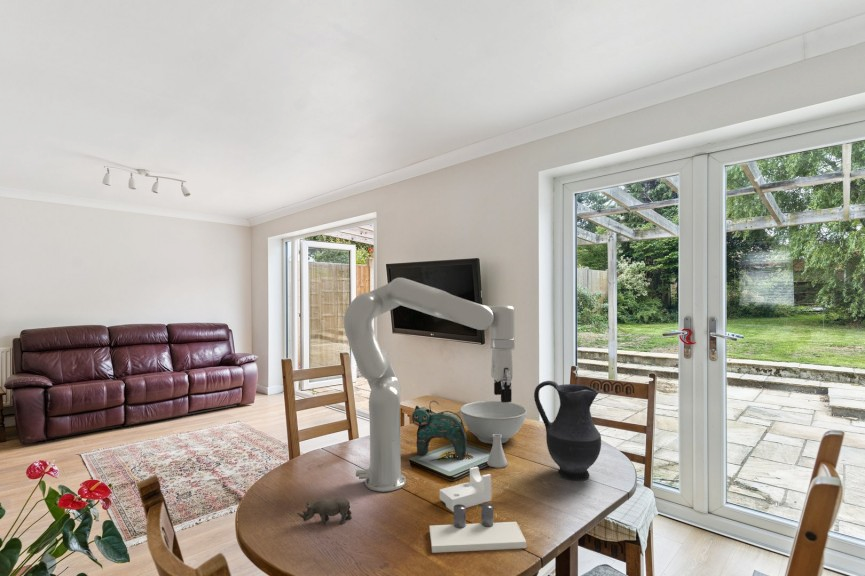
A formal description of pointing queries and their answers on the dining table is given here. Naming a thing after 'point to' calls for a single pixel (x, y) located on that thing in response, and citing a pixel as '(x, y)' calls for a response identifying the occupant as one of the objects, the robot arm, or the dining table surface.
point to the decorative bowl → (493, 419)
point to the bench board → (476, 537)
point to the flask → (497, 453)
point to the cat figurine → (439, 430)
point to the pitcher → (571, 430)
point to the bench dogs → (485, 515)
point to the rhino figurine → (328, 510)
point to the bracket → (468, 491)
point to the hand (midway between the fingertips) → (502, 398)
